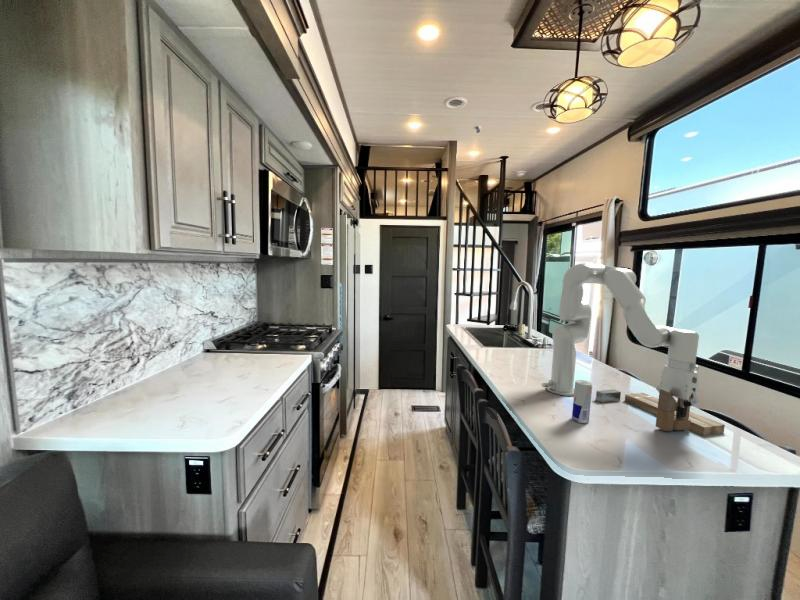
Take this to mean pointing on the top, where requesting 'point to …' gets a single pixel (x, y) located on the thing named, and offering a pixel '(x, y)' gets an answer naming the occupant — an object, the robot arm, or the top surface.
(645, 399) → the light brown wooden board
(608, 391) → the metal block
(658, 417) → the wooden bracket
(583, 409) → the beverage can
